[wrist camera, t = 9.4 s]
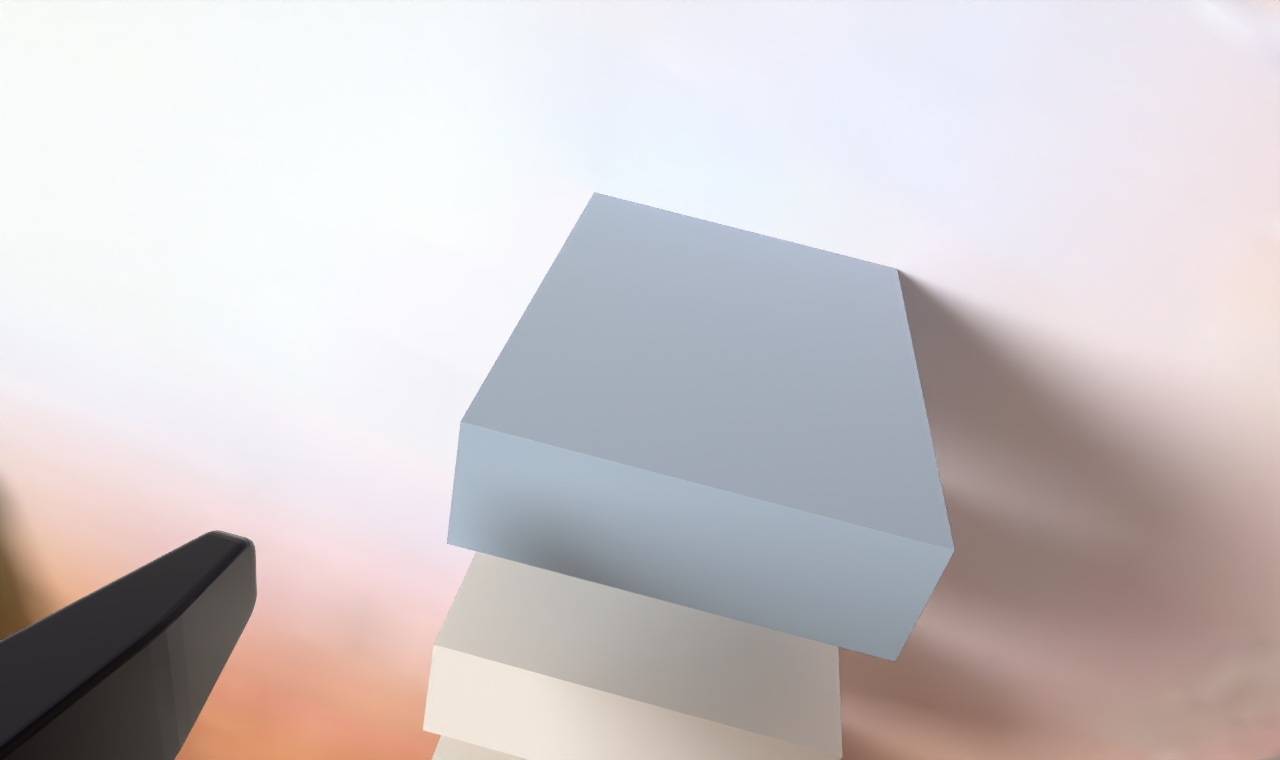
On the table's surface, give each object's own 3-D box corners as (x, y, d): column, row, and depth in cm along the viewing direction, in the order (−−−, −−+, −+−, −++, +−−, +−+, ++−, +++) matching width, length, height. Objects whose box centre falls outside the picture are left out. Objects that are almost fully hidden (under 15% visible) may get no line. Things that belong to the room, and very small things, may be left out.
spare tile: (862, 355, 18) (895, 661, 12) (577, 283, 19) (446, 543, 12) (896, 268, 17) (954, 550, 11) (594, 192, 17) (460, 422, 11)
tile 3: (802, 504, 21) (799, 834, 14) (548, 436, 21) (422, 730, 14) (830, 435, 19) (842, 757, 13) (562, 363, 20) (433, 644, 13)
